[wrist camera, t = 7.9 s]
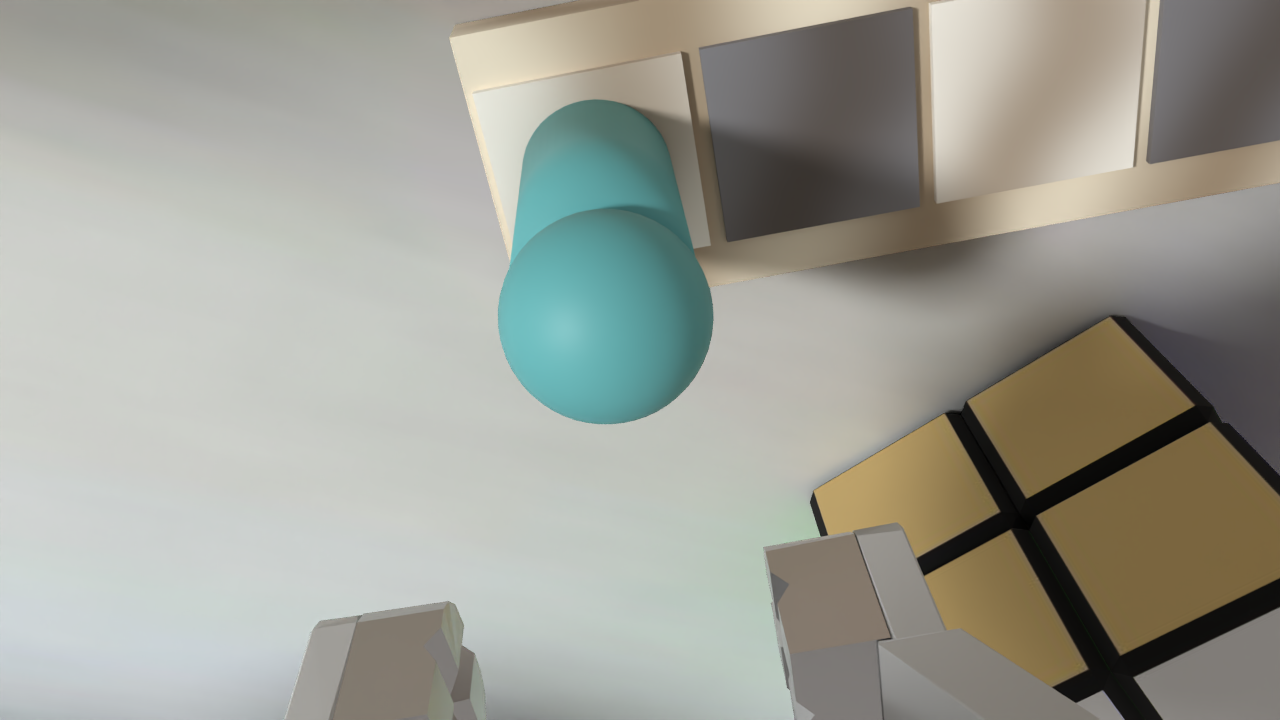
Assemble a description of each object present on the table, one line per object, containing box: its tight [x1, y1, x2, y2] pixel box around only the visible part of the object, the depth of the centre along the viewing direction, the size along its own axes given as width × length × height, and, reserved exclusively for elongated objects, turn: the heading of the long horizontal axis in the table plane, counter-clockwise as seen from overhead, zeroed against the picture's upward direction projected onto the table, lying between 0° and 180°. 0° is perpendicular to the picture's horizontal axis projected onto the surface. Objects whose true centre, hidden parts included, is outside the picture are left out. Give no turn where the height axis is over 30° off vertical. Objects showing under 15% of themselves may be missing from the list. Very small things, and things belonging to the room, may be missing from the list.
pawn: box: [498, 99, 713, 424], centre depth 19 cm, size 4×4×9 cm
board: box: [449, 0, 1280, 287], centre depth 23 cm, size 20×7×1 cm, turn 100°
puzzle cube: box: [810, 316, 1280, 720], centre depth 27 cm, size 10×10×10 cm
